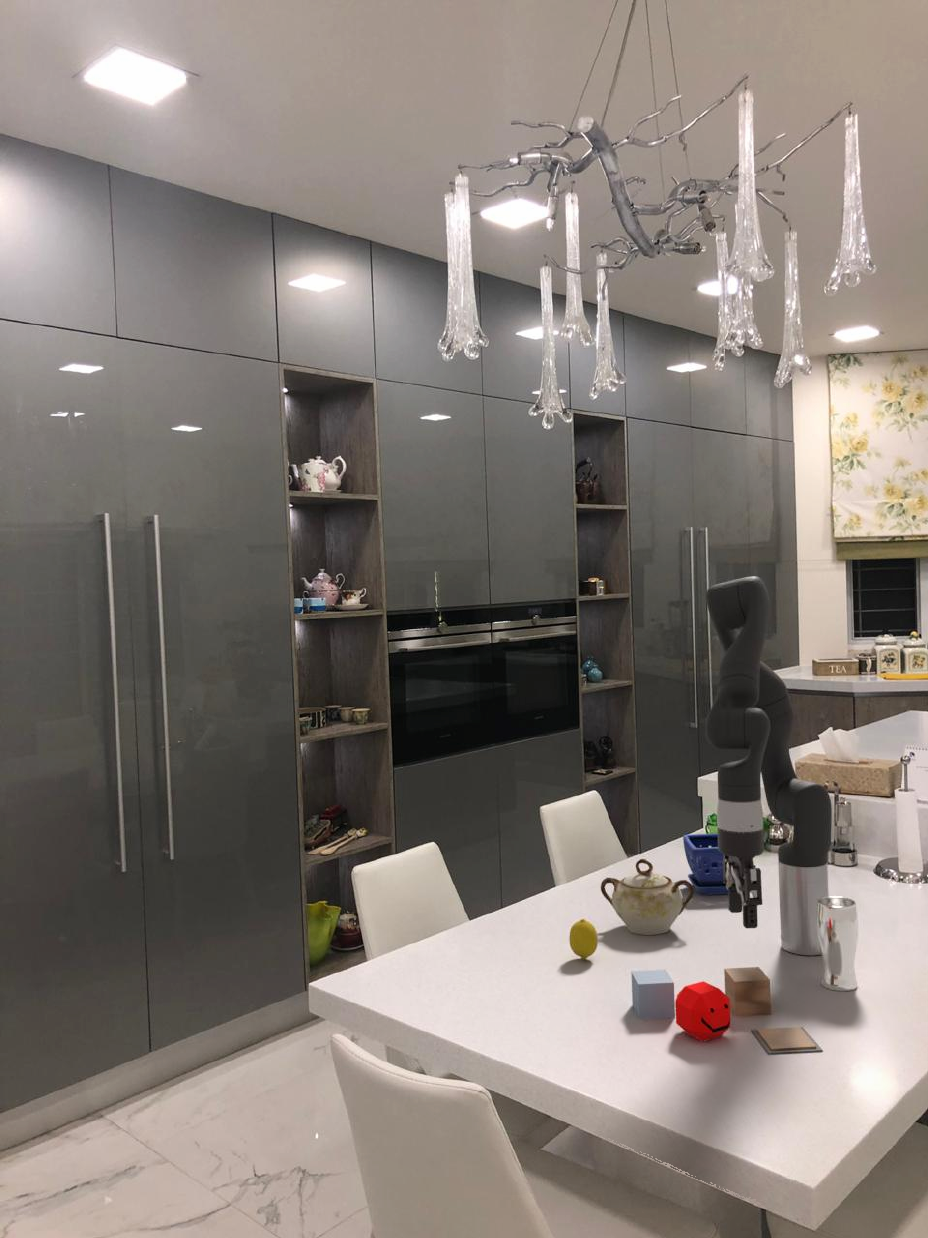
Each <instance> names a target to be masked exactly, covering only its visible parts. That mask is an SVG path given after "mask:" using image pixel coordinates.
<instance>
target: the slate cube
mask: <svg viewBox="0 0 928 1238" xmlns="http://www.w3.org/2000/svg"><path fill="white" fill-rule="evenodd" d="M630 973H631V995H632V996H631V997H632V1007H633V1009H634V1010H635V1013H636V1015H637V1017H638V1019H639V1020H652V1019H653V1020H654V1019H672V1018H675V1019H676V1007H675V1001H676V1000H675V982H674V980H673V979H672V977H671V976H670V974H669V973H668V971H667V969H651V970H648V969H647V970H632V971H631V972H630Z"/></svg>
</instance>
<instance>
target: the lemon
mask: <svg viewBox="0 0 928 1238" xmlns="http://www.w3.org/2000/svg"><path fill="white" fill-rule="evenodd" d="M568 938H569V939H568V940H569V946H570V949H571V951H572V952H573V953H574V954H575V955H576V956H577V957H580V958H581V959H582V960H587V959H588V957H591V956H593V954H595V952H596V950H597V948H598V944H599V936H598V932H597V930H596V928H595V926H594V925H593V923H591V922H590V921H588V920H586V918H585V919H584V918H581V919H580V920H578V921H576V922H575V923H574V924H573V925H572V926H571V928H570V931H569V937H568Z"/></svg>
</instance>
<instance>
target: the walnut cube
mask: <svg viewBox="0 0 928 1238" xmlns="http://www.w3.org/2000/svg"><path fill="white" fill-rule="evenodd" d="M723 971H724V972H723V973H724V994H725V995H726V996H727V997H729V998H730V1012H731V1013H732V1014H733V1015H734V1016H735V1018H738V1017H754V1016H755V1017H756V1016H760V1017H761V1016H772V997H771V996H772V995H771V979H770V978H769V977H768V976H767V974H765V972H764V971H763V970H762V969H761V968H760V967H759V966H752V967H735V968H734V967H733V968H732V967H731V968H723Z"/></svg>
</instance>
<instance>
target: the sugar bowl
mask: <svg viewBox="0 0 928 1238" xmlns="http://www.w3.org/2000/svg"><path fill="white" fill-rule="evenodd" d="M640 864H645V865H647V866H648V869H647V870H641V868H640ZM635 869H636V873H633V874H631V875H628V876H626V877H624V878H622V879H621V880H619V879H617V878H613V877H605V878H604V879H603V880H602V882H601V884H600V892H601V893H602V896H603V897H604V898H605V899H606V900H607V901H608V902H609V903H610V905H611V907H612V909H614V911H615V913H616V915H617V916H618V917H619V918H620V920H621V921H622V922H623V923H624V924H625V926H626V928H627V929H628V931H629V932H630V933H634V934H636V935H642V936H643V935H644V936H655V935H656V936H657V935H661V934H664V933H666V932H668V931H669V930H670V928H671V927H672V926H673V924H674V922H675V921H676V920H677V918H678V916H680V915H681V914H682V913H683V912H684V909H685V908H686V907H687V905H688V904H689V902H690V901H691V900H692V899H693V896H694V894H695V893H694V891H695V890H694V889H695V888H694V886H693V884H692V883H691V881H688V880H687V879H682V880H681V879H680V880H678V881H676V882H673V879H671V877H668V876H665V875H661V874H659V873H656V872H653V870H654V866H653V864H652V863H651V862H650V861H648V860H647V859H645V858H641V859H639V860H637V861H636V863H635ZM607 884H611V885H612V886H613V891H612V893H611V896H610V895H609V894H608V892H607V891H606V888H605V887H606V885H607ZM680 886H686V887H687V888H688V890H689V891H688V892H689V893H688V895H687V898H686V899H685V900H684V897H683V893H682V891H681V889H680Z"/></svg>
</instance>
